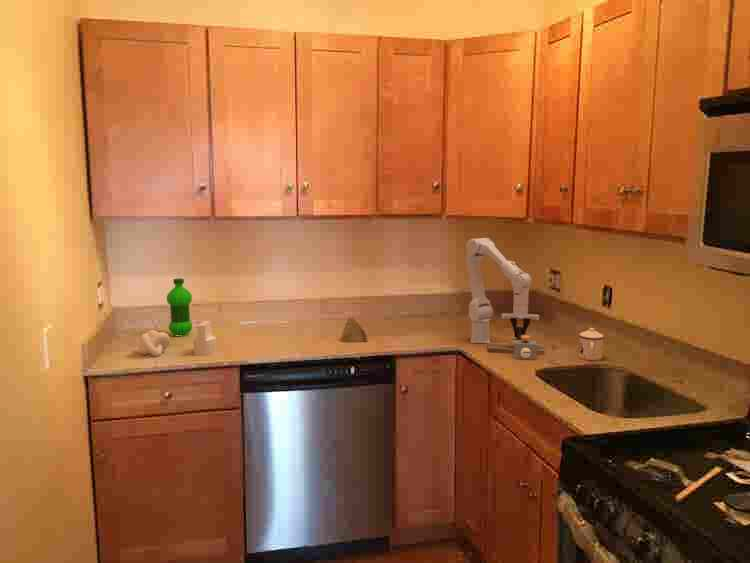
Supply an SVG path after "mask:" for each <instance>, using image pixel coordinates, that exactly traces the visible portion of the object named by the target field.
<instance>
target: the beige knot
mask: <svg viewBox="0 0 750 563" xmlns="http://www.w3.org/2000/svg"><path fill="white" fill-rule="evenodd" d="M170 343H171V338H170V336H169V335H168V333H166V332H162V331H161V332H158V331H157V330H155V329H150V330H147V331H146V332H144V333H142V334H141V336H140V340H139V344H138V352H139V353H140V354H141V355H143V356H146V355H149V354H150V355H151V356H154V357H159V356H161V355H162V353H163V352H164V351H165V350H166V349H167V348H168V347H169V346H170Z"/></svg>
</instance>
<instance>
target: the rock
mask: <svg viewBox="0 0 750 563" xmlns="http://www.w3.org/2000/svg"><path fill="white" fill-rule="evenodd" d="M367 341H368V336H367V334H366V332H365V329H363V328H362V326H361V325H360V323H359V322H358V321H356V320H355V319H354V318H353V317H348V318H347V321H346V322H345V324H344V328H343V331H342V334H341V337H340V343H345V342H346V343H353V342H354V343H355V342H356V343H359V342H360V343H361V342H367Z"/></svg>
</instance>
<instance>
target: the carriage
mask: <svg viewBox="0 0 750 563" xmlns="http://www.w3.org/2000/svg"><path fill="white" fill-rule="evenodd" d="M521 335H523V326H517V337H512V336H511V337H510V343H512V347H514V340H522V339H521Z"/></svg>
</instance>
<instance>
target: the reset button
mask: <svg viewBox="0 0 750 563" xmlns="http://www.w3.org/2000/svg"><path fill="white" fill-rule="evenodd" d="M521 339H522V340H524V343H527V340H530V341H531V335H529V334H525V335H521Z"/></svg>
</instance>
